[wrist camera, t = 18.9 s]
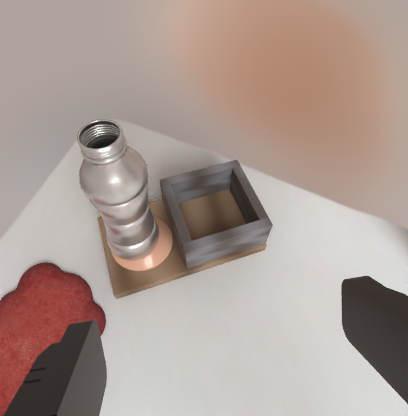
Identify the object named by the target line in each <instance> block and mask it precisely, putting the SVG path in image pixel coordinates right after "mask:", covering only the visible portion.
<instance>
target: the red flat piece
mask: <svg viewBox="0 0 408 416" xmlns="http://www.w3.org/2000/svg"><path fill="white" fill-rule="evenodd" d="M89 320H96V321H97V324H98V327H99V332H100V336H101V335H102V333H103V331H104V328H105V323H106V319H105V314H104V311H103V310H102V308H101V307H100V306H98V305H97V304H96V303H95V302H94V301H93V297H92V292H91V289H90V287H89V285H88V284H87V283H86V281H85V280H84V279H82V278H81V277H79V276H77V275H75V274H70V273H65V272H63V271H61V269H60V268H59V267H57V266H56V265H54V264H51V263H40V264H37V265H35V266H33V267H31V268H30V269H28V270H27V271H26V272H25V273H24V274H23V276H22V277H21V279H20V281H19V284H18V287H17V289H16V290H14V291H13V292H11V293H8V294H6V295H5V296H4V297H3V298H2V299H1V301H0V416H3V415H4V413H5V412H6V410H7V408H8V406H9V405H10V403H11V401H12V400H13V398H14V396H15V394H16V393H17V391H18V389H19V387H20V386H21V385H23V381H24V379H25V377H26V375H27V374H28V373H29V372H30V371H29V370H30V368H31V367H32V365H33V363H34V362H35V360H36V358H37V356H38V355H40V354H41V353H42V352H43V351H44V350H45V349H46V348H47V347H48V346H49V345H51V344H53V343H59V342H60V341H61V339H62V337H63V335H64V333H65V331H66V329H67V327H68V325H69V324H71V323H76V322H83V321H89Z"/></svg>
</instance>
